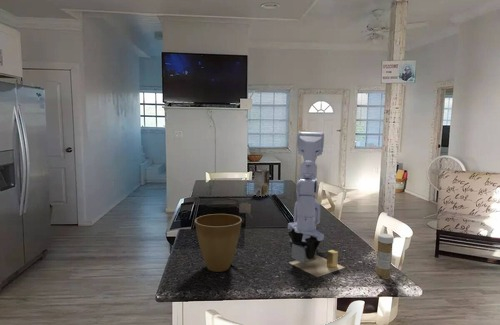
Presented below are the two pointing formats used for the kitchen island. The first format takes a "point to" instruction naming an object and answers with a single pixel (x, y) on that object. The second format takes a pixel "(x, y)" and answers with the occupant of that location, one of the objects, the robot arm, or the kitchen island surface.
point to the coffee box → (261, 182)
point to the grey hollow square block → (301, 252)
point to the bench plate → (316, 266)
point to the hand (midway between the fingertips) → (303, 255)
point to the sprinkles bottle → (384, 255)
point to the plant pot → (218, 239)
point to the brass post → (332, 258)
